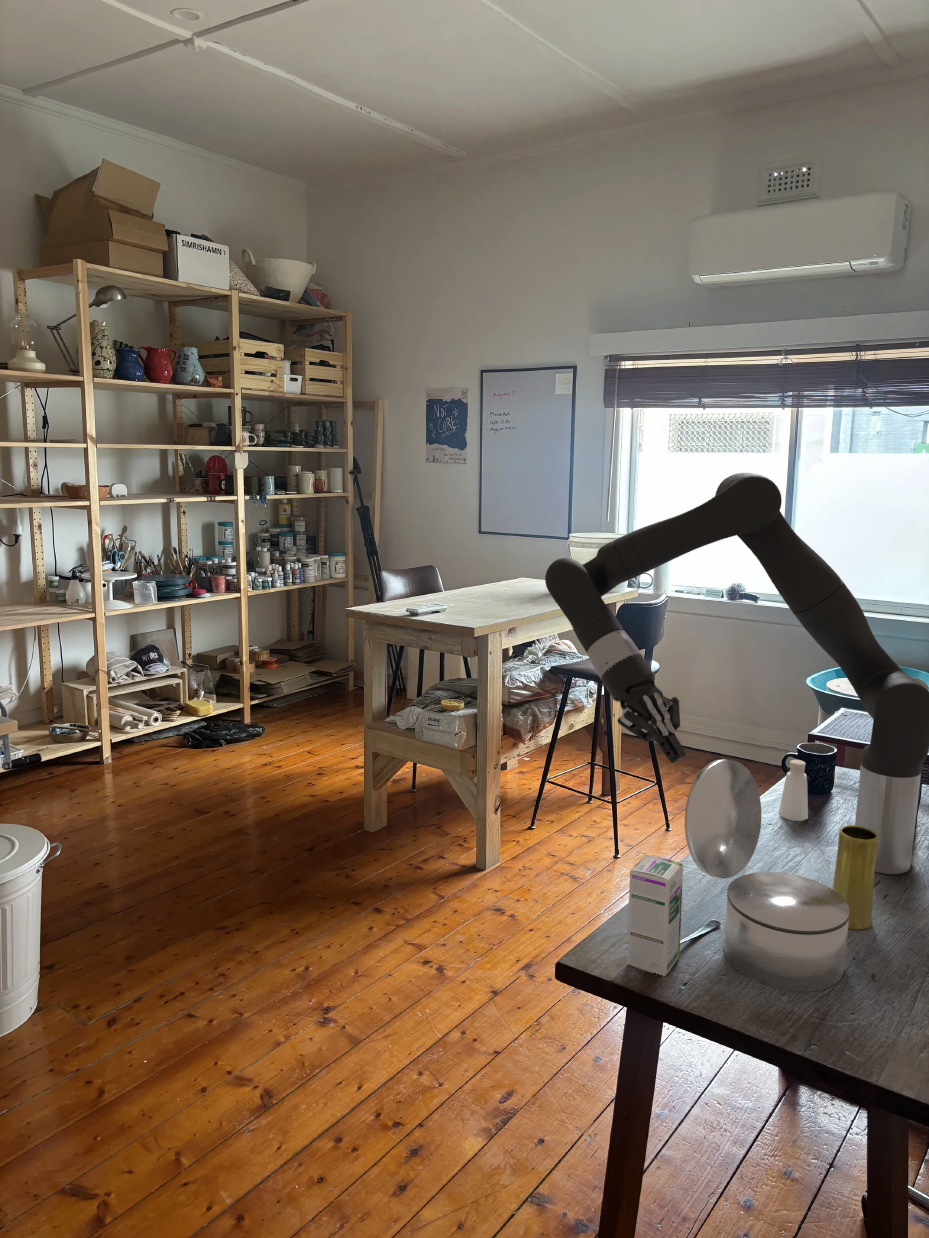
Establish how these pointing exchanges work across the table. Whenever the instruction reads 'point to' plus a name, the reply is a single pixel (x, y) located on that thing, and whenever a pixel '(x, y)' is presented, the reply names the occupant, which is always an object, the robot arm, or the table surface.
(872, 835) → the vase
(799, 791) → the pepper shaker
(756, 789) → the pot lid
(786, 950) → the steel pot
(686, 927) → the table surface
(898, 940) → the table surface
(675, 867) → the syrup box
